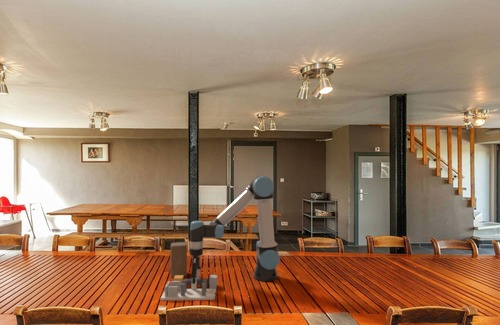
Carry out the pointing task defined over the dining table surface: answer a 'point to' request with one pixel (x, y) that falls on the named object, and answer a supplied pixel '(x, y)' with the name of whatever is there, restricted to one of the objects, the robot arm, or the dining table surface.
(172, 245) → the wooden block
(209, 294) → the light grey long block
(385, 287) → the dining table surface
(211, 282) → the rod with end blocks
